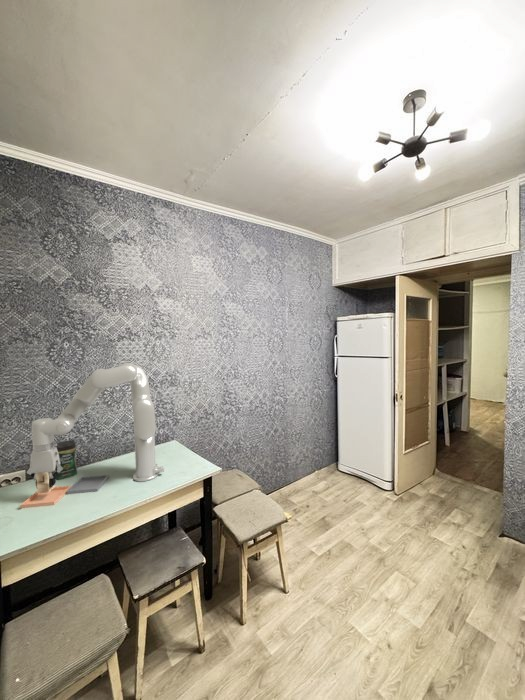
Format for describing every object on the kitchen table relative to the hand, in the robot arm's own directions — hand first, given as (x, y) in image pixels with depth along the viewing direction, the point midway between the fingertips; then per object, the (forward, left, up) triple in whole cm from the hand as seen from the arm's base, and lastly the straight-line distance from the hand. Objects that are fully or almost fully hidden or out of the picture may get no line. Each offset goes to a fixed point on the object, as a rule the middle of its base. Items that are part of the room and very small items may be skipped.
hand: (45, 485), depth 124 cm
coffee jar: (+3, -21, -6) cm, 22 cm away
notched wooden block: (0, 0, -2) cm, 2 cm away
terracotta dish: (0, 0, -6) cm, 6 cm away
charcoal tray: (-14, -8, -6) cm, 17 cm away
